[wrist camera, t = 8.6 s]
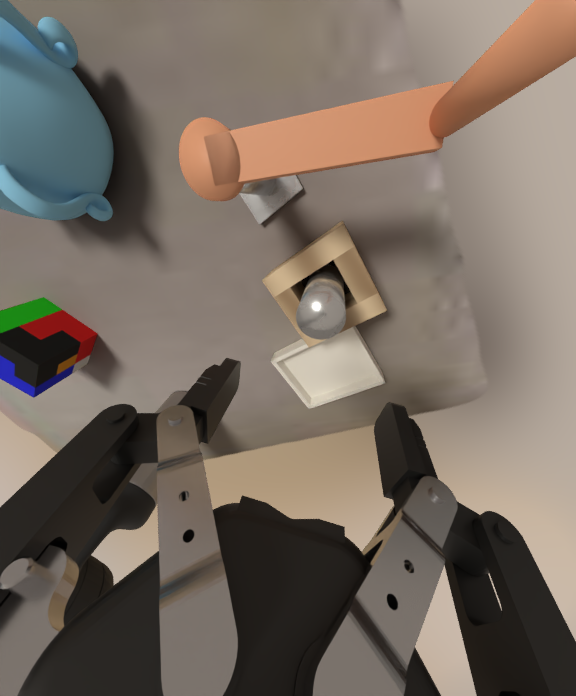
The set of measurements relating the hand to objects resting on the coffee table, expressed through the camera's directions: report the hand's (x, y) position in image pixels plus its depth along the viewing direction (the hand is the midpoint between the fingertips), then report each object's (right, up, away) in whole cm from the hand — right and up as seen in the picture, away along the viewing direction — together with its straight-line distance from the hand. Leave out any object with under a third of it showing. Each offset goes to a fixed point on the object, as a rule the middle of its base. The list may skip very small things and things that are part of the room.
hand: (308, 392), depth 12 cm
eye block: (+4, +11, +17) cm, 21 cm away
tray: (+5, 0, +24) cm, 24 cm away
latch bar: (0, +14, +2) cm, 15 cm away
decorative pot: (-27, +27, +14) cm, 40 cm away
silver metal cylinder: (+4, +11, +17) cm, 21 cm away
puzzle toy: (-43, +5, +31) cm, 53 cm away
